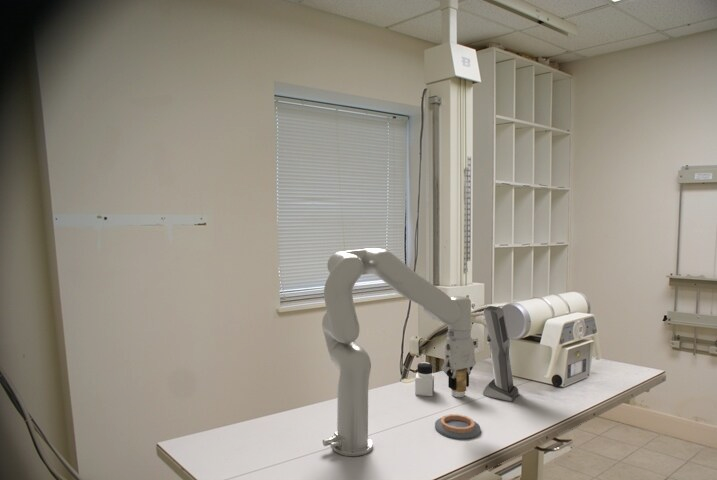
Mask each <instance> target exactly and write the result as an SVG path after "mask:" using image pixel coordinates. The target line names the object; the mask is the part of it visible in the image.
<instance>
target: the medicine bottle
mask: <svg viewBox="0 0 717 480" xmlns="http://www.w3.org/2000/svg"><path fill="white" fill-rule="evenodd" d="M416 369H417V372H416V374H415V378H414V379H415V382H414V383H415V384H414V388H415V389H414V393H415V395H414V396H420V397H421V396H424V397H433V396H434V388H435V385H434V383H435V381H434V380H435V373H433V365H432V363H430V362H419V363H418V364H417V368H416Z"/></svg>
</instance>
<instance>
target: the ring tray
mask: <svg viewBox="0 0 717 480" xmlns="http://www.w3.org/2000/svg"><path fill="white" fill-rule="evenodd" d="M434 429H435V431H436V432H437V433H439V434H440V435H442V436H444V437H447V438H450V439H454V440H456V439H457V440H470V439H474V438H476V437H478V436H479V435H480V434H481V426H480V424H479V423H478V422H476V421H475V420H473V419H472V418H471V417H469V416H466V415H463V414H457V413H456V414H447V415H444V416H442V417H440V418H437V420H436V421H435V422H434Z"/></svg>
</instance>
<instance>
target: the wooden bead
mask: <svg viewBox="0 0 717 480" xmlns="http://www.w3.org/2000/svg"><path fill="white" fill-rule="evenodd" d="M452 371H453V370H451V372H452ZM466 373H467V369H466V368H465V369H461V370H456V375H455V378H456V390H453V389H451V388H450V389H451V390H453V391H455V392H465V393H466V391H467V387H466Z"/></svg>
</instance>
